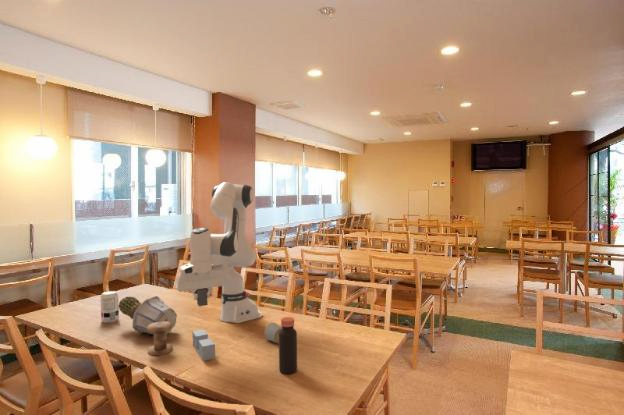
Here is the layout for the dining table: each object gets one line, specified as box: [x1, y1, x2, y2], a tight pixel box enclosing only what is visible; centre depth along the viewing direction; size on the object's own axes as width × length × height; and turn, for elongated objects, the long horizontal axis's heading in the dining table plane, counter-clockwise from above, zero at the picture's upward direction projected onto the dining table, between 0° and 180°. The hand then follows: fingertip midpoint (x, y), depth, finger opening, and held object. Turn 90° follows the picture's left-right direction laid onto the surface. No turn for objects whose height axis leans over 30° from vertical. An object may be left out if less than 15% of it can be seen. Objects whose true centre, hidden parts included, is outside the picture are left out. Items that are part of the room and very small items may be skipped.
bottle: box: [278, 316, 298, 375], centre depth 145 cm, size 7×7×20 cm
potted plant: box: [118, 295, 178, 336], centre depth 186 cm, size 18×18×30 cm
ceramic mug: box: [263, 322, 282, 344], centre depth 174 cm, size 11×8×8 cm
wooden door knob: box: [147, 321, 174, 356], centre depth 164 cm, size 10×10×11 cm
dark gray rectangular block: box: [196, 288, 209, 307], centre depth 162 cm, size 4×4×7 cm
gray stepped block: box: [192, 328, 216, 362], centre depth 163 cm, size 5×19×6 cm, turn 29°
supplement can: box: [100, 290, 120, 324], centre depth 201 cm, size 8×8×15 cm
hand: (202, 298), depth 162 cm, fingers closed on dark gray rectangular block, 3 cm apart
